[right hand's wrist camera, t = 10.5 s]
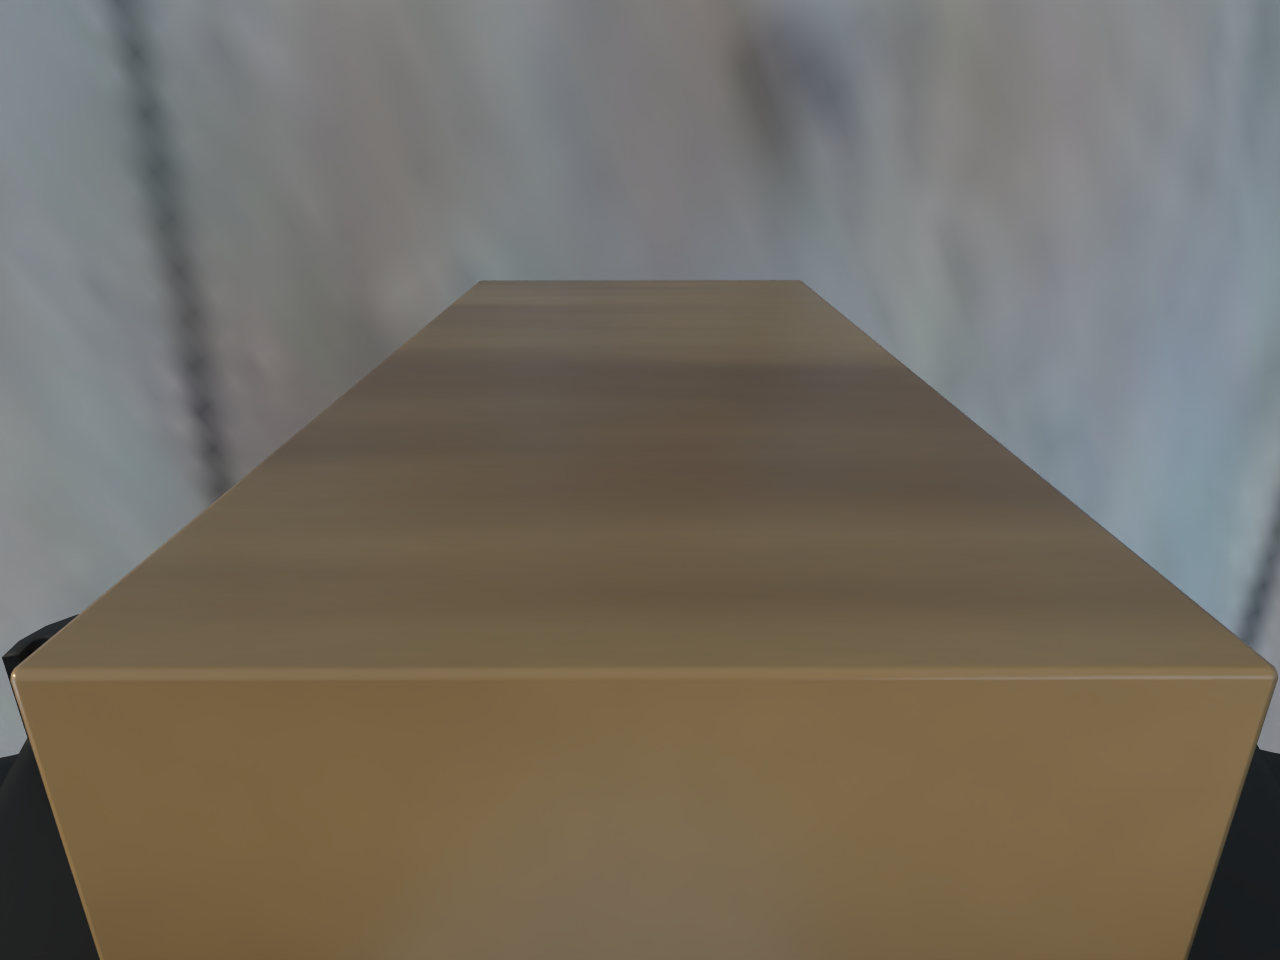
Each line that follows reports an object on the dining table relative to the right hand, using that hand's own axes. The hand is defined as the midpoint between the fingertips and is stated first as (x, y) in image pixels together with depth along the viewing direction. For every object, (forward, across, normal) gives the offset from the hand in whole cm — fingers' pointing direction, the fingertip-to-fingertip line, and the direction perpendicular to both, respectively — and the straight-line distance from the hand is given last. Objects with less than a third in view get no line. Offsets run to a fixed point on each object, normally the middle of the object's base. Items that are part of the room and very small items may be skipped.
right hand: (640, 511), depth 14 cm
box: (+3, 0, -7) cm, 8 cm away
